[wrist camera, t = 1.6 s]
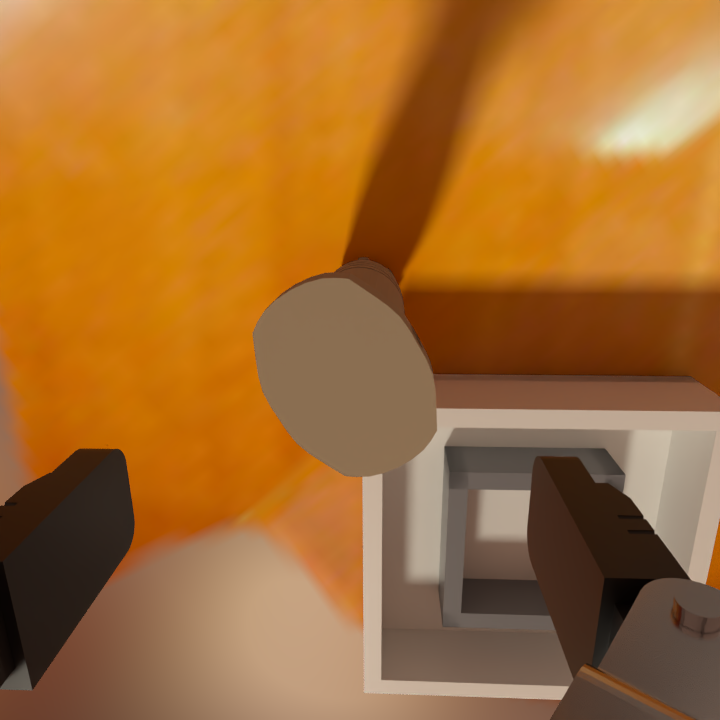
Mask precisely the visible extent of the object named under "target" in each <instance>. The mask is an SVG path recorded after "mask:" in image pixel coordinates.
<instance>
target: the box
mask: <svg viewBox="0 0 720 720" xmlns="http://www.w3.org/2000/svg"><path fill="white" fill-rule="evenodd" d="M433 378H434V384H435V390H436V408H437V432H436V433H435V435H434V437H433V438H432V440H431V441H430V443H429V444H428V445H427V446H426V448H425V449H424V450H423V451H422V452H421V453H419V454H418V455H417V456H416V457H415V458H413V459H412V460H410V461H409V462H407V463H405V464H403V465H402V466H400V467H398V468H396V469H393V470H391V471H388V472H386V473H382V474H378V475H374V476H369V477H363V618H364V693H383V694H412V695H441V696H468V697H497V698H526V699H555V700H562V698H563V697H564V695H565V693H566V691H567V690H568V688H569V686H570V685H571V683H572V681H573V677H572V674H571V671H570V669H569V666H568V663H567V660H566V658H565V655H564V652H563V649H562V647H561V644H560V641H559V638H558V636H557V633H556V630H555V627H554V625H553V622H552V619H551V616H550V614H549V611H548V608H547V605H546V603H545V600H544V597H543V595H542V592H541V589H540V586H539V584H538V581H537V578H536V575H535V573H534V570H533V567H532V564H531V561H530V557H529V552H528V544H527V524H528V513H529V502H530V492H531V481H532V470H533V464H534V460H535V458H536V457H537V456H567V457H578V458H579V459H580V460H581V462H582V463H583V465H584V466H585V468H586V469H587V471H588V472H589V474H590V475H591V477H592V478H593V480H594V481H595V483H609V484H610V485H612V486H613V487H615V488H616V489H618V490H619V491H621V492H622V493H624V494H625V495H627V496H628V497H630V498H631V499H632V501H633V502H634V504H635V505H636V506H637V508H638V509H639V510H640V512H641V513H642V514H643V516H644V519H646V520H647V521H648V522H649V524H650V525H651V526H652V528H653V529H654V530H655V531H654V532H655V534H657V535H658V536H659V537H660V539H661V540H662V541H663V543H664V544H665V545H666V547H667V548H668V549H669V551H670V552H671V553H672V555H673V556H674V557H675V559H676V560H677V562H678V563H679V564H680V566H681V567H682V568H683V570H684V571H685V572H686V574H687V575H688V576H689V578H690V579H691V580H692V581H696V582H699V583H702V584H705V585H706V580H707V575H708V571H709V566H710V561H711V557H712V552H713V547H714V542H715V538H716V533H717V528H718V524H719V519H720V396H718V395H717V394H715V393H714V392H713V391H711V390H710V389H708V388H707V387H705V386H704V385H702V384H701V383H699V382H698V381H697V380H695V379H694V378H692V377H691V376H599V375H488V374H433Z"/></svg>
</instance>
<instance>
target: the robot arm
mask: <svg viewBox="0 0 720 720" xmlns="http://www.w3.org/2000/svg"><path fill="white" fill-rule="evenodd" d="M654 531H655V530H654V529H653V528H652V526H651V525H650V524H649V522H648V521H647V520H646V519H644V516H643V514H642V513H641V512H640V510H639V509H638V508H637V506H636V505H635V504H634V502H633V501H632V499H631V498H630V497H628V496H627V495H625V494H624V493H622V492H621V491H619V490H618V489H616V488H615V487H613V486H612V485H610V484H609V483H595V481H594V480H593V478H592V477H591V475H590V474H589V472H588V471H587V469H586V468H585V466H584V465H583V463H582V462H581V460H580V459H579V458H578V457H567V456H537V457H536V458H535V460H534V464H533V470H532V481H531V492H530V502H529V513H528V524H527V544H528V552H529V557H530V561H531V564H532V567H533V570H534V573H535V575H536V578H537V581H538V584H539V586H540V589H541V592H542V595H543V597H544V600H545V603H546V605H547V608H548V611H549V614H550V616H551V619H552V622H553V625H554V627H555V630H556V633H557V636H558V638H559V641H560V644H561V647H562V649H563V652H564V655H565V658H566V660H567V663H568V666H569V669H570V671H571V674H572V677H573V681H572V683H571V685H570V686H569V688H568V690H567V691H566V693H565V695H564V697H563V698H562V700H561V702H560V703H559V705H558V707H557V708H556V710H555V712H554V714H553V715H552V717H551V719H550V720H720V590H718V589H715V588H713V587H711V586H708V585H705V584H702V583H699V582H696V581H692V580H691V579H690V578H689V576H688V575H687V574H686V572H685V571H684V570H683V568H682V567H681V566H680V564H679V563H678V562H677V560H676V559H675V557H674V556H673V555H672V553H671V552H670V551H669V549H668V548H667V547H666V545H665V544H664V543H663V541H662V540H661V539H660V537H659V536H658V535H657V534H655V532H654ZM133 534H134V513H133V506H132V499H131V492H130V485H129V478H128V472H127V465H126V459H125V456H124V454H123V452H122V451H121V450H119V449H78V450H77V451H75V452H74V453H73V454H72V455H71V456H70V457H69V458H67V459H66V460H65V461H64V462H63V463H62V464H61V465H60V466H58V467H57V468H56V469H55V470H54V471H53V472H52V473H49V474H47V475H45V476H43V477H41V478H39V479H37V480H35V481H33V482H31V483H29V484H27V485H25V486H23V487H22V488H21V489H20V490H19V491H18V492H16V493H15V494H14V495H13V496H12V497H11V498H9V499H8V500H7V501H6V502H5V505H4V506H0V689H9V690H33V689H34V687H35V686H36V684H37V683H38V681H39V680H40V679H41V677H42V676H43V674H44V672H45V671H46V670H47V668H48V667H49V665H50V664H51V662H52V661H53V659H54V658H55V657H56V655H57V654H58V652H59V651H60V649H61V648H62V646H63V645H64V643H65V642H66V640H67V639H68V637H69V636H70V635H71V633H72V632H73V630H74V629H75V628H76V626H77V625H78V623H79V621H80V620H81V619H82V617H83V616H84V614H85V613H86V612H87V610H88V608H89V607H90V606H91V604H92V603H93V601H94V600H95V598H96V597H97V595H98V594H99V593H100V591H101V590H102V588H103V587H104V585H105V584H106V582H107V581H108V579H109V578H110V577H111V575H112V574H113V572H114V571H115V569H116V568H117V566H118V565H119V563H120V562H121V561H122V559H123V558H124V556H125V555H126V553H127V552H128V550H129V548H130V545H131V543H132V539H133Z"/></svg>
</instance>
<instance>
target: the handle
mask: <svg viewBox="0 0 720 720" xmlns="http://www.w3.org/2000/svg"><path fill="white" fill-rule="evenodd" d="M253 341H254V349H255V357H256V363H257V370H258V376H259V380H260V383H261V387H262V391H263V393H264V395H265V397H266V399H267V401H268V402H269V404H270V406H271V408H272V409H273V411H274V412H275V414H276V415H277V417H278V418H279V420H280V421H281V423H282V424H283V426H284V427H285V429H286V430H287V432H288V433H289V434H290V435H291V437H292V438H293V439H294V440H295V442H296V443H297V444H298V445H299V446H301V447H302V448H303V449H304V450H306V451H307V452H308V453H309V454H311V455H312V456H314V457H315V458H317V459H319V460H320V461H322V462H323V463H325V464H326V465H328V466H330V467H331V468H333V469H335V470H336V471H338V472H339V473H341V474H343V475H344V476H351V477H369V476H374V475H378V474H382V473H386V472H388V471H391V470H393V469H396V468H398V467H400V466H402V465H403V464H405V463H407V462H409V461H410V460H412V459H413V458H415V457H416V456H417V455H418V454H419V453H421V452H422V451H423V450H424V449H425V448H426V446H427V445H428V444H429V443H430V441H431V440H432V438H433V437H434V435H435V433H436V432H437V408H436V390H435V384H434V378H433V370H432V366H431V362H430V360H429V357H428V355H427V353H426V351H425V349H424V347H423V345H422V343H421V341H420V339H419V338H418V336H417V334H416V332H415V330H414V329H413V327H412V325H411V324H410V322H409V321H408V319H407V317H406V316H405V315H404V303H403V297H402V293H401V290H400V288H399V285H398V283H397V281H396V279H395V277H394V275H393V273H392V272H391V270H389V269H388V268H385V267H384V266H383V265H381V264H379V263H377V262H374V261H370V260H369V258H367V257H361V258H359V259H358V260H356V261H352V262H349V263H347V264H345V265H343V266H342V267H340V268H339V269H337V270H336V271H335V272H334V273H324V274H320V275H317V276H313V277H310V278H308V279H306V280H304V281H301V282H299V283H297V284H295V285H294V286H292V287H291V288H289V289H288V290H286V291H285V292H283V293H282V294H281V295H280V296H279V297H278V298H277V299H276V300H275V301H274V302H273V303H272V304H271V305H270V306H269V307H268V308H267V309H266V310H265V311H264V313H263V314H262V316H261V317H260V319H259V321H258V322H257V324H256V327H255V329H254V331H253Z"/></svg>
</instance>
